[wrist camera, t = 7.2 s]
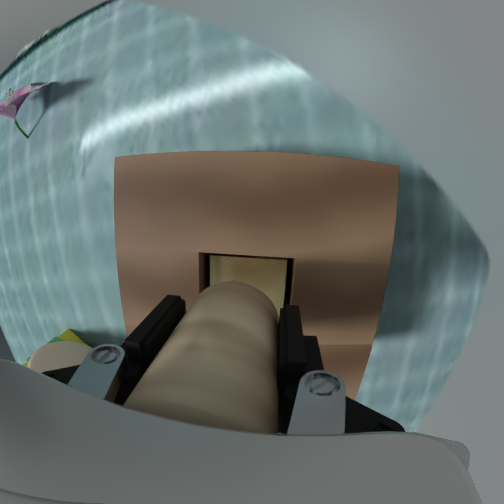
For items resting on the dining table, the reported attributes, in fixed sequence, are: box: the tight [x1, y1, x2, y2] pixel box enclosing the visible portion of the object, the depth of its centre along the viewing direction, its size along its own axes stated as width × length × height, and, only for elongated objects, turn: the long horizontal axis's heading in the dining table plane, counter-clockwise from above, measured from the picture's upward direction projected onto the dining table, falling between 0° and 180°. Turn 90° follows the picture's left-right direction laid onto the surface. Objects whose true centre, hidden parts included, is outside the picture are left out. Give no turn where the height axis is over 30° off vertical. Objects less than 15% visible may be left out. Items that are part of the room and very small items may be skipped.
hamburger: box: [23, 329, 93, 373], centre depth 23 cm, size 12×8×12 cm
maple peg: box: [123, 281, 279, 433], centre depth 8 cm, size 4×4×7 cm
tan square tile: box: [210, 253, 287, 316], centre depth 16 cm, size 4×4×1 cm
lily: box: [0, 82, 52, 139], centre depth 19 cm, size 12×12×10 cm
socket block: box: [114, 151, 399, 400], centre depth 19 cm, size 16×16×9 cm
